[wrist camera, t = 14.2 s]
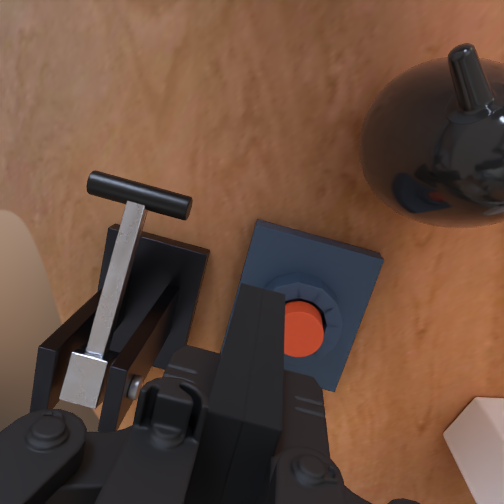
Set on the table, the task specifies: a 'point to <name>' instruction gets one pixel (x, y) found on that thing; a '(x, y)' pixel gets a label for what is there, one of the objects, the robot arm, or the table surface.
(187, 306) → the lever stand
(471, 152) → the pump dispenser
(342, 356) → the button block
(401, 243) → the table surface
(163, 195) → the tap lever
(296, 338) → the button
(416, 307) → the table surface
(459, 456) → the jar
